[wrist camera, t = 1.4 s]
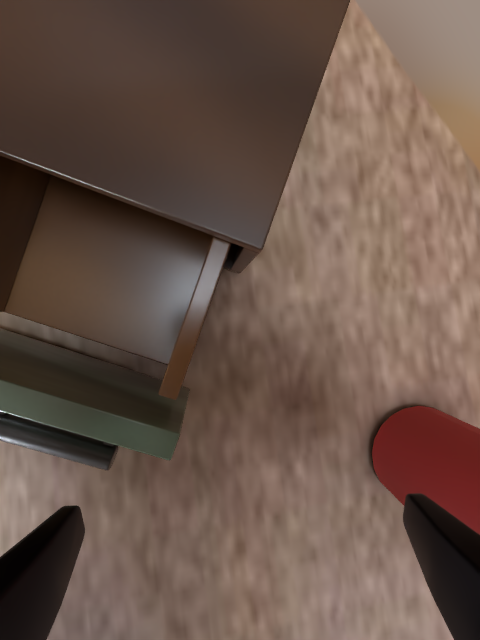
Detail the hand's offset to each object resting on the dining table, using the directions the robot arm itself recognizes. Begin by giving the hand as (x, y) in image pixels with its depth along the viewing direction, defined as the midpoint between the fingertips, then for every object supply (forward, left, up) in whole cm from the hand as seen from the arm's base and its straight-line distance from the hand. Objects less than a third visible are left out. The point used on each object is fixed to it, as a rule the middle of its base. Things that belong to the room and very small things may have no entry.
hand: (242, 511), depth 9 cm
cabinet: (+7, +15, -13) cm, 21 cm away
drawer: (-2, +9, -12) cm, 15 cm away
